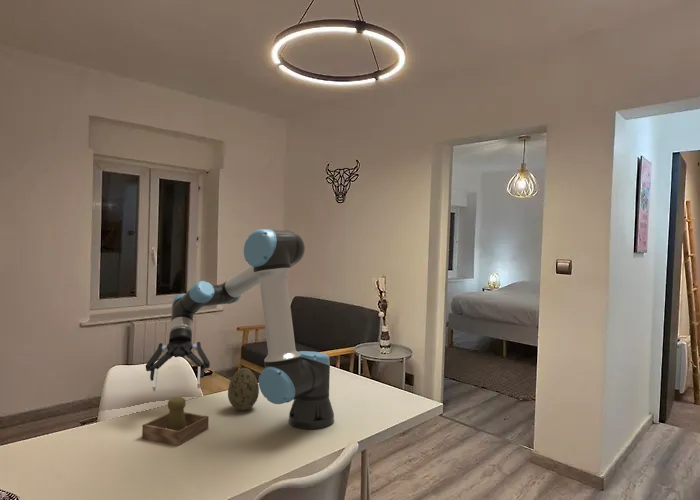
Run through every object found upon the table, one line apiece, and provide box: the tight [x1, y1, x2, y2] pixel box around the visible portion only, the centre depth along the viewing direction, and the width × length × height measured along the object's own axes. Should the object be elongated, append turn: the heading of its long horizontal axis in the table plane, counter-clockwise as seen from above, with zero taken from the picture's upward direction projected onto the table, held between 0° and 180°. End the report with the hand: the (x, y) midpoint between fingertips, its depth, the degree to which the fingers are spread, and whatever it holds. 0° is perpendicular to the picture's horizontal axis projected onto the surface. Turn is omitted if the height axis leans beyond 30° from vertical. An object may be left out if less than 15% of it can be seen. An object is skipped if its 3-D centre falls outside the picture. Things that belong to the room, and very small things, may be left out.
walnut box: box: [141, 411, 209, 447], centre depth 142 cm, size 14×14×4 cm
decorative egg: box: [227, 367, 260, 411], centre depth 164 cm, size 11×11×15 cm
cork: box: [167, 396, 187, 431], centre depth 142 cm, size 6×6×11 cm
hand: (176, 387), depth 149 cm, fingers open, 13 cm apart
